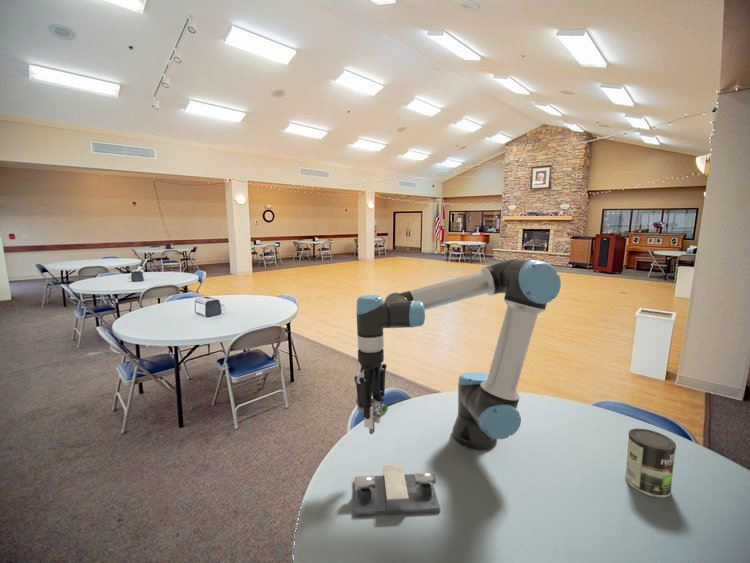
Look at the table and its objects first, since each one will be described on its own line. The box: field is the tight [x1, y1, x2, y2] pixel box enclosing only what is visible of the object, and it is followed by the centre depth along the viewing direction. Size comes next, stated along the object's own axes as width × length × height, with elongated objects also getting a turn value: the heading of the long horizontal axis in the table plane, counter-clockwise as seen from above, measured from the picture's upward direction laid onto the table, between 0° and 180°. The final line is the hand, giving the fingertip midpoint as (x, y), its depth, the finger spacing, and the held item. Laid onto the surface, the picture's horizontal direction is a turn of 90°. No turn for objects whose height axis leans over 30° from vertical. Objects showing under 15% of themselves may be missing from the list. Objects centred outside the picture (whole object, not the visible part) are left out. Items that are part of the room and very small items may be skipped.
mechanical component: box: [355, 398, 388, 435], centre depth 102 cm, size 3×10×10 cm, turn 57°
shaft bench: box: [354, 463, 441, 517], centre depth 94 cm, size 22×13×6 cm, turn 93°
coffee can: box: [624, 428, 677, 499], centre depth 96 cm, size 10×10×14 cm
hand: (372, 424), depth 102 cm, fingers closed on mechanical component, 3 cm apart
